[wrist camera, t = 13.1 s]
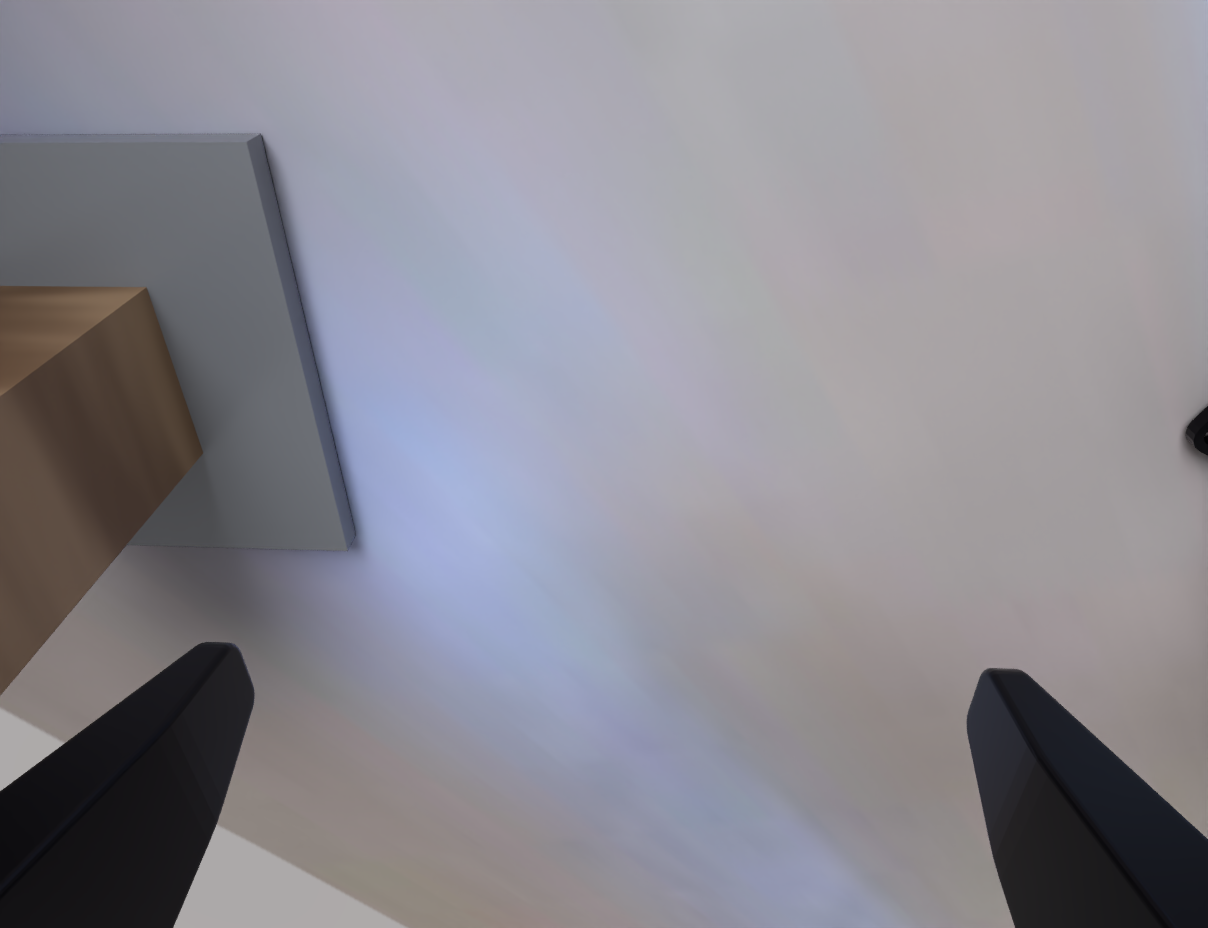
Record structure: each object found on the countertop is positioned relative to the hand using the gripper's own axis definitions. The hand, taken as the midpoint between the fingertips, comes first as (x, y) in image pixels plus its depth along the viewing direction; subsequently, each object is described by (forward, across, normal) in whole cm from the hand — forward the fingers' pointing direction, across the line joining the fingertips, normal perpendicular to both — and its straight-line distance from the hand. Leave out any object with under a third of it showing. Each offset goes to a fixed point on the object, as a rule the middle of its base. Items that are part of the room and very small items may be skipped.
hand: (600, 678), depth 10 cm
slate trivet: (+13, +15, +2) cm, 20 cm away
